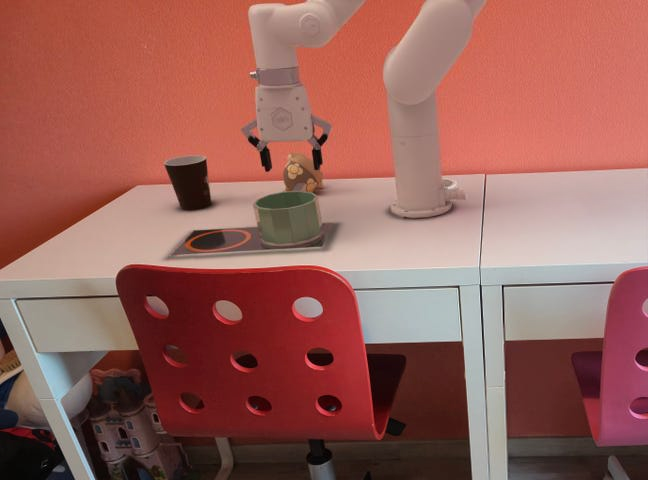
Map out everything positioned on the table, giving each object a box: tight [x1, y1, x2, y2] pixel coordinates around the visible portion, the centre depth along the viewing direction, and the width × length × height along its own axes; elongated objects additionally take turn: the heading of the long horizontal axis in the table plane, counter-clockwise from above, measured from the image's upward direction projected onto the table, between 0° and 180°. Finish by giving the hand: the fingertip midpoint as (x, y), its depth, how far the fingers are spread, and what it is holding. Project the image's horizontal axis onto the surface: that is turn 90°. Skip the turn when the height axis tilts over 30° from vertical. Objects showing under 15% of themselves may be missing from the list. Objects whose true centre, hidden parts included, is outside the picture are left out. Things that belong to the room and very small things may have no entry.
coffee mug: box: [163, 155, 212, 211], centre depth 155 cm, size 12×9×10 cm
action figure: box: [282, 152, 324, 193], centre depth 161 cm, size 10×11×15 cm
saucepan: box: [252, 183, 323, 246], centre depth 136 cm, size 11×20×7 cm, turn 2°
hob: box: [167, 222, 334, 258], centre depth 134 cm, size 28×14×1 cm, turn 92°
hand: (293, 169), depth 140 cm, fingers open, 9 cm apart
